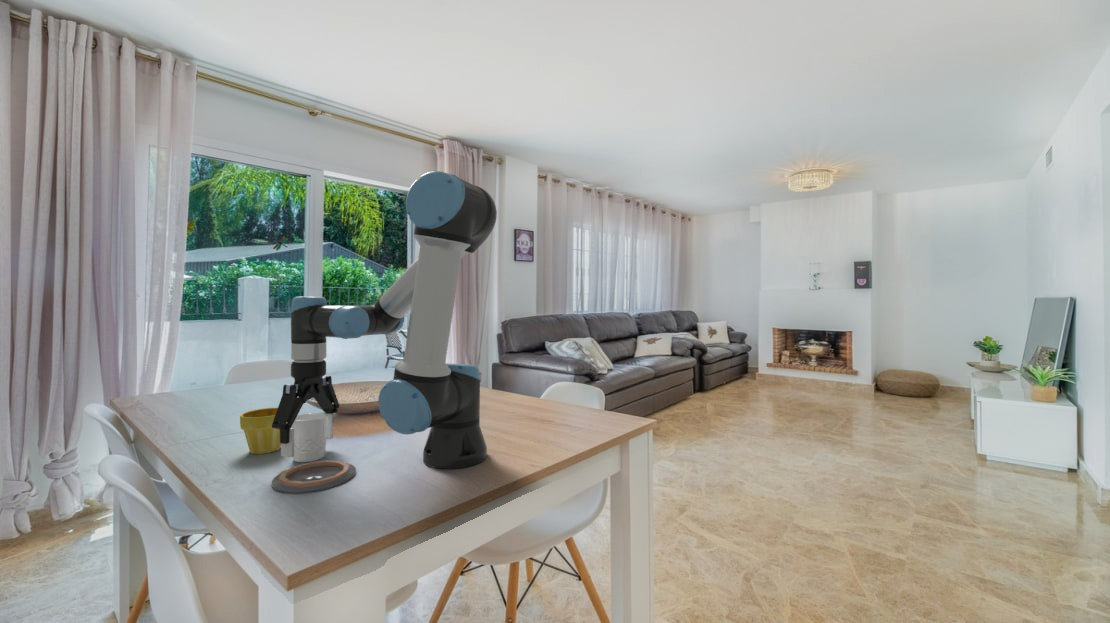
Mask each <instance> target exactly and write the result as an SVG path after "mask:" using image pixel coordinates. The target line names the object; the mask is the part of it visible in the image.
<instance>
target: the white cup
mask: <svg viewBox="0 0 1110 623" xmlns="http://www.w3.org/2000/svg"><path fill="white" fill-rule="evenodd" d="M324 413H325V412H311V413H303V414H298V415H297V417H296V419H295V421H294V423H293V425H292V427H291V428H294V457H292V458H293V460H294V461H295V462H298V463H309V462H316V461H320V460H321V459H323V458H324V457H325V456H326V445H327V439H326V436H327V414H324Z"/></svg>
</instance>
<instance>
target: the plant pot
mask: <svg viewBox="0 0 1110 623" xmlns="http://www.w3.org/2000/svg"><path fill="white" fill-rule="evenodd" d="M277 409H278V407H265V408H258V409H253V410H249V411H245V412H242V413H241V414H240V415H239V424H240V429H241V430H243V432H244V435H245V439H246V442H247V443H246V444H247V445H248V450H249V453H250V454H253V455H264V454H268V453H273V452H276V451H278V450H281V443H280V429H276V428H272V424H273V421H274V418H275V415H276V412H277ZM279 423H280V422H279ZM287 423H288V422H287ZM287 423H286V424H287Z"/></svg>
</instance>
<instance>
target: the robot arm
mask: <svg viewBox="0 0 1110 623" xmlns="http://www.w3.org/2000/svg"><path fill="white" fill-rule="evenodd" d="M405 210H406V214H407V215H408V218H409V220H410V222H411V223H412V224H413V225H414V229H413V237H414V239H415V240H416V241H417V243H418V245H419V249H418V256H417V258H416V259H415V260H414V261H413V262H412V263H411V264H410V265H409V267H407V269H405V271H404V272H403V273H402V274H401V275H400V276H399V277H398V278H397V279H396V280H395V281H394V283H392V285H390V287H388V289H387V290H386V291H385V292H384V293H383V294H382V295H381V296H380V297H379V298H378V299H377V300H376V301H375V302H374V303H373V304H372V305H351V304H350V305H328V304H327V303H328V302H327V299H326V298H325V297H323V296H295V297H293V298H292V300H291V308H290V309H291V310H290V313H289V315H290V341H291V342H290V343H291V344H290V345H291V352H290V354H291V355H290V358H291V360H293V361H292V362H291V363H290V376H291V377H292V378H293V379H294V383H293V384H288V383H286V384H283V388H282V395H281V398H280V401H279V403H278V406H277V408H278V409H277V412H276V415H275V418H274V421H273V424H272V428H276V429H280V443H281V447H280V454H281V455H280V457H282V458H283V457H284V458H293V457H294V428H291V427H292V425H293V423H294V421H295V419H296V417H297V415H299V413H300V411H301V409H302V408H303V405H304V404H305V403H307V401H309V400H311V399H313V398H314V400H315V401H316V403H317V404H318V406H320V408H321V410H322V411H323V413H324V414H327V436H326V440H333V437H334V436H333V435H334V434H333V433H334V431H333V430H334V429H333V428H334V427H333V426H334V414H337V413H338V410H339V408H340V403H339V401H338V397H337V395H336V391H335V388H334V386H333V382H332V381H333V380H332V376H331V375H326V374H327V361H326V358H327V338H337V339H338V338H339V339H343V340H347V339H358V338H362V337H363V336H365V337H366V336H373V335H374V336H375V335H389V334H393V333H397V332H399V331H400V330H401V329H402V328H403V325H404V323H405V316H406V314H407V313H408V312H409V311H410V315H409V319H408V320H409V321H408V326H407V327H408V328H407V336H406V341H405V342H406V343H405V347H404V348H405V349H404V356H403V358H402V359H401V360H400V361H398V362H397V363H396V364H395V365H394V370H393V371H394V373H393V378H392V380H389V381H388V382H386V384H385V385H383V386H382V387H381V388H380V391H379V394H378V408H379V412H380V415H381V417H382V419H384V421H385V424H386V425H387V426H388V427H389V428H390V429H392V430H393V431H395V432H396V433H398V434H401V435H413V434H416V433H421V432H425V431H426V430H428V429H429V433H428V435H427V439H426V442H425V445H424V447H423V453H422V458H423V460H422V461H423V463H424V464H425V465H427V466H429V467H432V468H436V469H437V468H438V469H462V468H463V469H464V468H468V467H472V466H475V465H477V464H478V465H479V464H480V463H482V462H484V461H485V460H486V459H487V457H488V454H487V453H488V450H487V448H488V447H487V444H486V441H485V438H484V434H483V431H482V428H481V425H480V424H481V422H480V420H481V419H480V418H481V417H480V410H481V408H480V407H481V405H480V403H481V398H480V397H481V389H480V388H481V378H480V377H481V376H480V369H479V367H478V366H477V365H475V364H466V363H465V364H464V363H447V362H446V361H447V360H446V359H447V354H448V346H449V341H450V340H449V339H450V335H451V327H452V321H453V314H454V306H455V301H456V294H457V287H458V281H459V275H460V274H459V273H460V268H461V267H460V266H461V262H462V261H461V260H462V259H463V258H464V256H466V255H467V254H471V255H472V254H474V253H475V252H476V251H477V250H478V249H479V248H480V247H481V245H483V244H484V242H485V241H486V240H487V239H488V237H489V236H490V235H491V234H492V232H493V230H494V228H495V225H496V221H497V217H498V216H497V212H498V211H497V207H496V203H495V200H494V199H493V197H492V196H491V194H489V192H487V190H486V189H483V188H481V187H480V186H478V185H475V184H472V183H470V182H468V181H466V180H465V179H463V178H461V177H459V176H457V175H455V174H451V173H447V172H444V171H441V170H435V171H428V172H426V173H424V174H422V175H421V176H420V177H419V178H418V179H416V180H414V182H413V183H412V184H411V186H410V187H409V190H408V192H407V195H406V198H405ZM279 422H280V423H279ZM287 422H288V423H287ZM286 423H287V424H286Z"/></svg>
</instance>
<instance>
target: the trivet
mask: <svg viewBox="0 0 1110 623" xmlns="http://www.w3.org/2000/svg"><path fill="white" fill-rule="evenodd" d="M356 469H357V468H356V467H355V465H353V464H352V463H348V462H344V461H343V460H342V461H341V460H330V459H329V460H327V459H326V460H316V461H310V462H305V463H302V464H299V465H294V466H292V467H290V468H288V469H286V470H284V471H282V472H280V473H279V474H277V475H276V476H274V477H273V479H272V480H271V488H272V489H273V490H275V491H276V492H279V493H283V494H284V493H285V494H304V493H305V494H306V493H313V492H319V491H324V490H328V489H332V488H335V487H337V486H340V485H343V484H346V483H347V482H349V481H350V480H352V479H353V478H354V477H355V476H356V474H357V470H356Z"/></svg>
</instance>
